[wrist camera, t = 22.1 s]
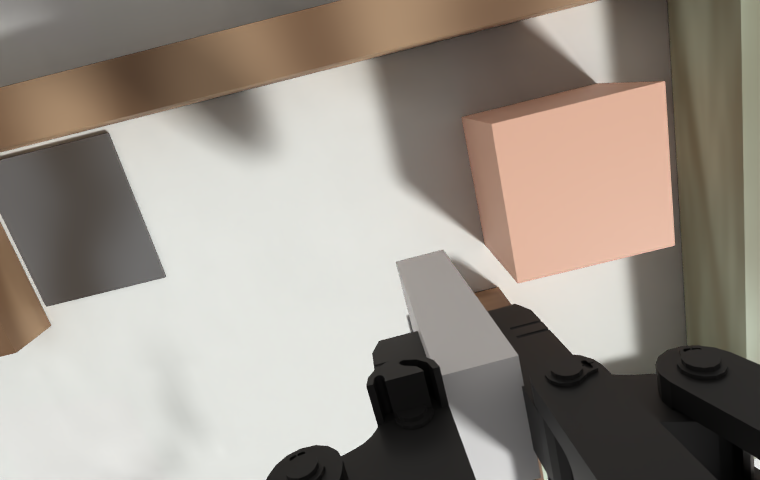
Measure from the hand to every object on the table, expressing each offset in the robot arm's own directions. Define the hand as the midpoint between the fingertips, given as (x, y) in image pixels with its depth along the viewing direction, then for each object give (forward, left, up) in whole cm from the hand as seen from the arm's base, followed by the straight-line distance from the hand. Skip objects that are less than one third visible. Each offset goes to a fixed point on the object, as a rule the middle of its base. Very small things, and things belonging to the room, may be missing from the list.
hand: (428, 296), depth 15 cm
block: (+6, +1, -8) cm, 10 cm away
